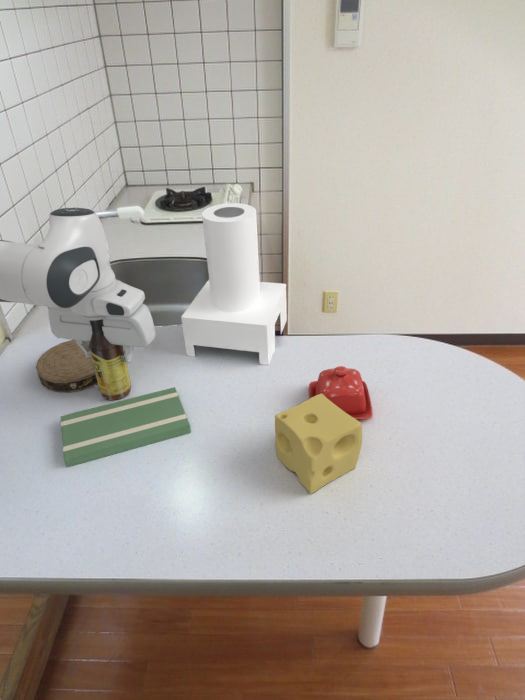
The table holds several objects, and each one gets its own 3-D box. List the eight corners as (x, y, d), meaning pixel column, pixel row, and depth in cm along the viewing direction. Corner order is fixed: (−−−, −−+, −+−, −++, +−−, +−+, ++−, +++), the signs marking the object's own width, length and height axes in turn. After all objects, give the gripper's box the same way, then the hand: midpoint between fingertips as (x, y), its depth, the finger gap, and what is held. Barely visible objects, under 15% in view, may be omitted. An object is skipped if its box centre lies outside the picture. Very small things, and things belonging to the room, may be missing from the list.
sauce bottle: (100, 386, 109) (78, 302, 98) (130, 380, 110) (113, 296, 99) (102, 405, 104) (79, 319, 93) (134, 399, 105) (115, 312, 94)
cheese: (310, 496, 83) (311, 451, 77) (272, 456, 90) (270, 412, 85) (360, 468, 87) (364, 423, 82) (320, 431, 95) (321, 388, 89)
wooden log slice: (127, 353, 119) (125, 342, 117) (92, 397, 106) (88, 385, 104) (65, 345, 122) (62, 335, 121) (24, 387, 110) (19, 376, 108)
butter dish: (310, 424, 97) (311, 388, 92) (308, 385, 106) (308, 351, 101) (373, 424, 96) (377, 387, 91) (365, 385, 106) (368, 350, 101)
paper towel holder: (286, 320, 128) (284, 198, 111) (268, 365, 113) (262, 232, 96) (213, 313, 132) (201, 195, 115) (186, 355, 117) (167, 226, 100)
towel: (66, 467, 90) (63, 458, 89) (63, 424, 100) (60, 415, 99) (190, 432, 96) (189, 424, 95) (176, 394, 106) (174, 386, 104)
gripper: (33, 299, 94) (53, 361, 102) (137, 309, 90) (150, 374, 97) (53, 283, 99) (71, 344, 107) (152, 292, 95) (163, 355, 102)
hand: (109, 358), depth 102 cm, fingers closed on sauce bottle, 6 cm apart
